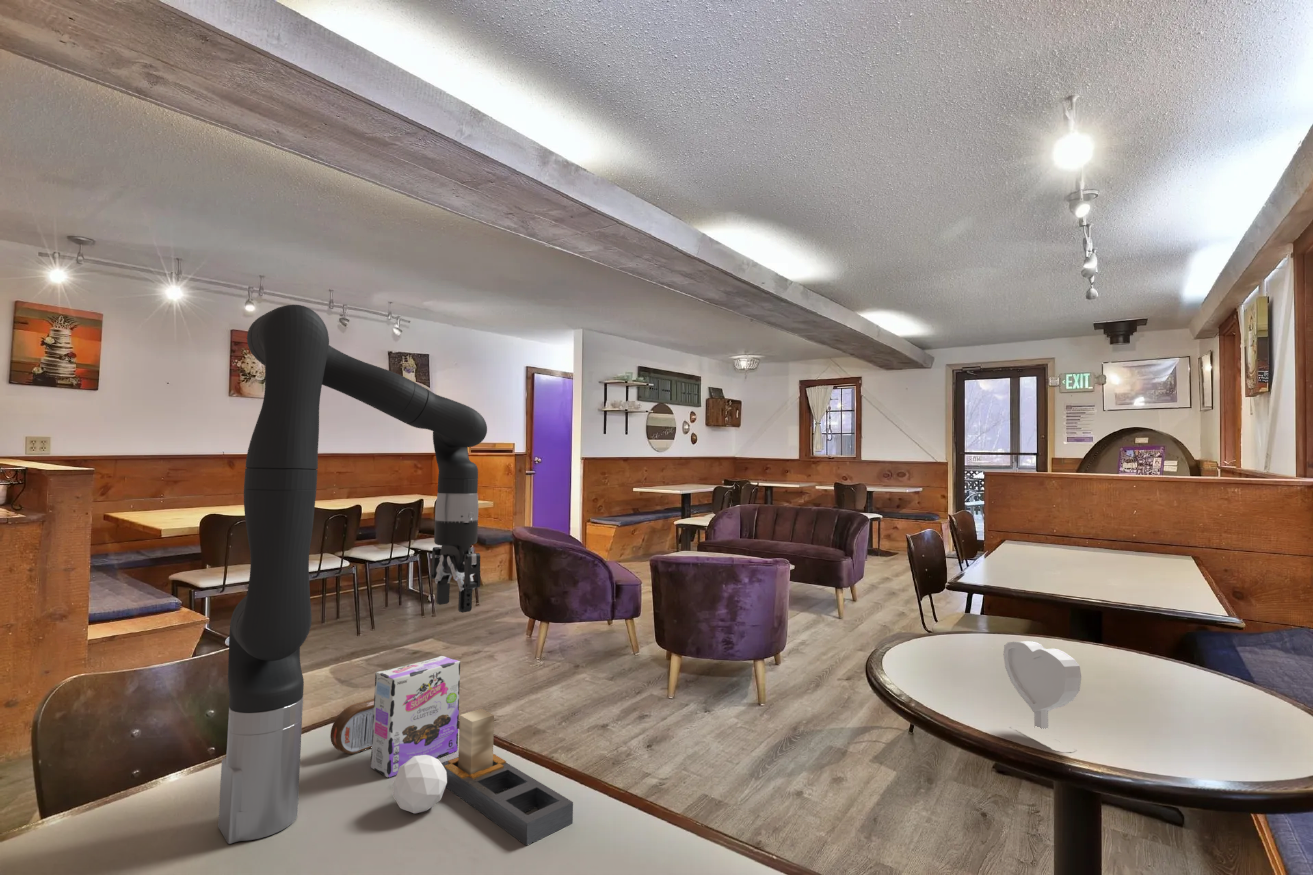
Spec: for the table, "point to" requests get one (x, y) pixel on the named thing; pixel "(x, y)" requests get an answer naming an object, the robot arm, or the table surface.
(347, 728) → the tin
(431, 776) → the geometric ball
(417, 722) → the candy box
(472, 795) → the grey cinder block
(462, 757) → the birch peg
